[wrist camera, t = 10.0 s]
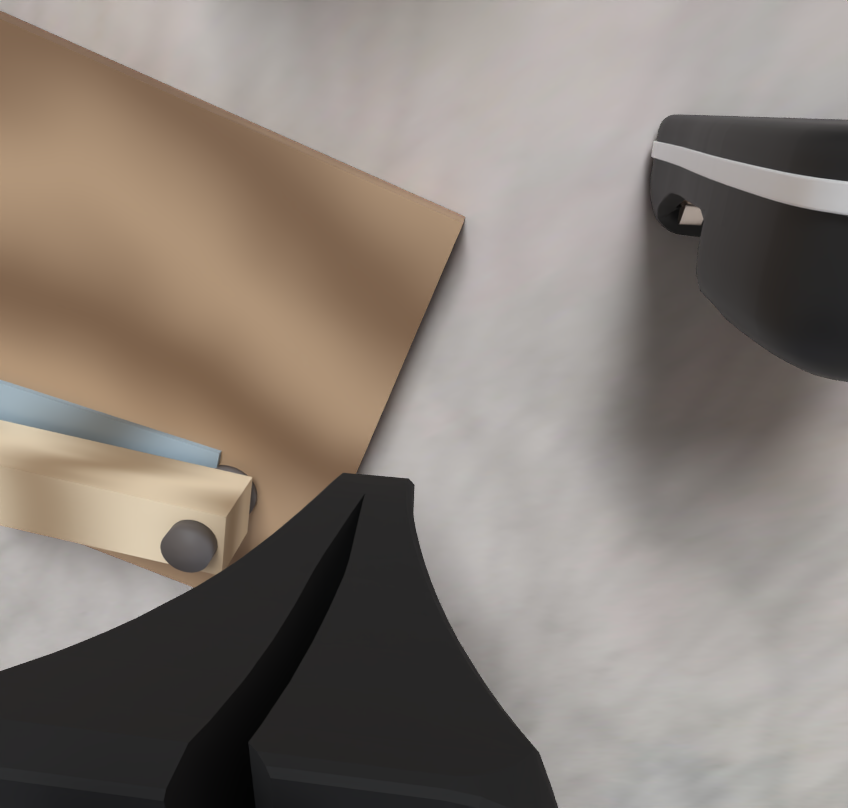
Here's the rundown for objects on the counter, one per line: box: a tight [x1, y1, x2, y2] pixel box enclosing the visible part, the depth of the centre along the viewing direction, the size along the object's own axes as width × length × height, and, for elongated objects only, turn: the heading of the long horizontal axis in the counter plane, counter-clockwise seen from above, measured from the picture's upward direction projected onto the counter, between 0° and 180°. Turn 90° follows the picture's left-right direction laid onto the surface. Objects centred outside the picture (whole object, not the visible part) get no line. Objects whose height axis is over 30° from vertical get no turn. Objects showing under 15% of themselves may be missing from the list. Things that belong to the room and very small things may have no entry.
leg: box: [0, 420, 252, 575], centre depth 22 cm, size 11×2×3 cm, turn 79°
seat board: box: [0, 11, 465, 588], centre depth 22 cm, size 17×15×2 cm
